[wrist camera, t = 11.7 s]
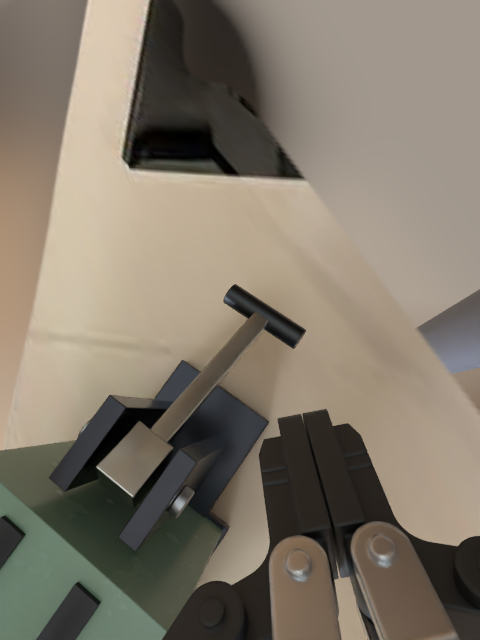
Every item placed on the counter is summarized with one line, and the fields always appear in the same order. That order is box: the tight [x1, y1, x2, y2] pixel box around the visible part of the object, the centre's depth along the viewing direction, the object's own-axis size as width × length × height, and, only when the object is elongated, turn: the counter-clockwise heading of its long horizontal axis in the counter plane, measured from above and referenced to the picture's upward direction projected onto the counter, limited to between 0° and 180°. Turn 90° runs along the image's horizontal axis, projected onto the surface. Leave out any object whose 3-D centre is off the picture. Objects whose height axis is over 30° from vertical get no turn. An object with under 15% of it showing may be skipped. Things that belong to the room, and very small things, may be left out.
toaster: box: [0, 440, 229, 640], centre depth 23 cm, size 9×12×15 cm
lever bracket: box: [49, 360, 269, 552], centre depth 25 cm, size 10×8×14 cm
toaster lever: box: [96, 284, 306, 510], centre depth 23 cm, size 14×6×2 cm
